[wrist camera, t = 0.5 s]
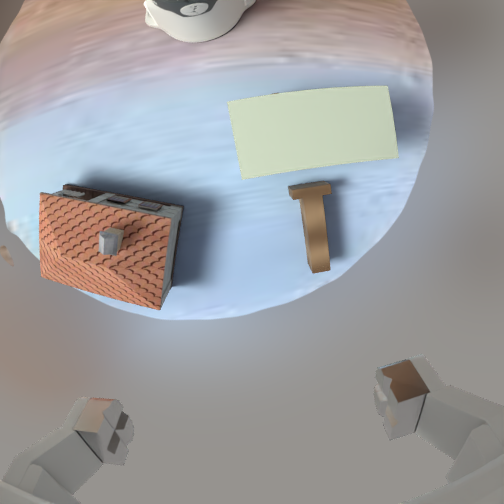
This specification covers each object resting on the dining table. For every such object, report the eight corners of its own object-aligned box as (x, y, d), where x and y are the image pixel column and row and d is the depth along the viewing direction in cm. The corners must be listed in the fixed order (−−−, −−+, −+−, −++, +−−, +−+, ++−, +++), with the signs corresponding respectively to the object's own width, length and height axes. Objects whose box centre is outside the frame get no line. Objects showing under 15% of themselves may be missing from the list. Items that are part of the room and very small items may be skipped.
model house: (184, 204, 50) (160, 227, 36) (172, 286, 55) (150, 332, 41) (66, 182, 48) (17, 198, 34) (64, 259, 53) (22, 292, 39)
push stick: (288, 186, 49) (291, 190, 45) (323, 180, 49) (330, 184, 45) (299, 264, 54) (303, 275, 50) (332, 258, 54) (339, 268, 49)
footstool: (233, 115, 45) (227, 101, 31) (348, 100, 44) (387, 85, 30) (244, 169, 48) (242, 179, 34) (356, 152, 47) (398, 157, 33)
